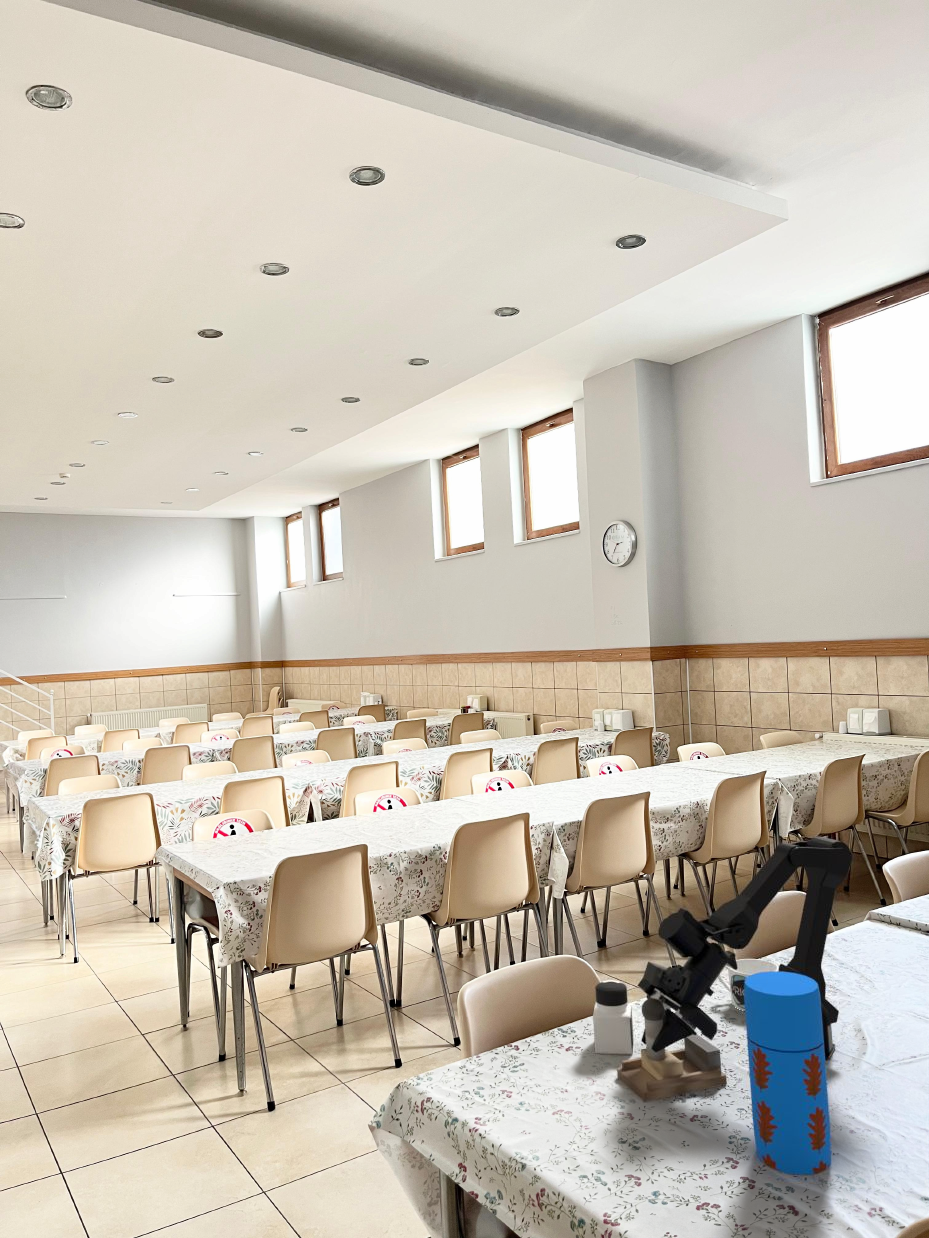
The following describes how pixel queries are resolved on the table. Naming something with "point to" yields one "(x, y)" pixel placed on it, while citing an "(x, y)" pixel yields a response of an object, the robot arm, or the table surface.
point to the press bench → (697, 1075)
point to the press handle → (653, 1062)
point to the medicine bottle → (612, 1019)
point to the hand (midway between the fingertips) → (648, 1046)
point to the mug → (744, 977)
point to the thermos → (787, 1072)
